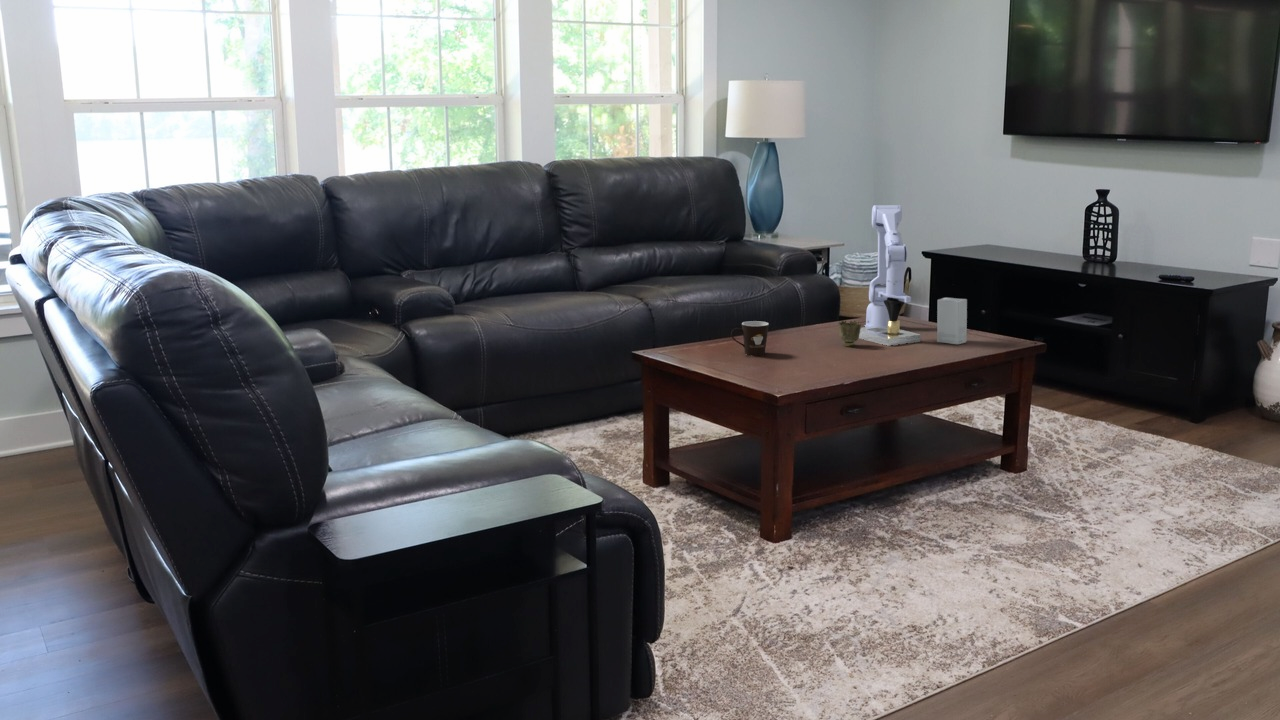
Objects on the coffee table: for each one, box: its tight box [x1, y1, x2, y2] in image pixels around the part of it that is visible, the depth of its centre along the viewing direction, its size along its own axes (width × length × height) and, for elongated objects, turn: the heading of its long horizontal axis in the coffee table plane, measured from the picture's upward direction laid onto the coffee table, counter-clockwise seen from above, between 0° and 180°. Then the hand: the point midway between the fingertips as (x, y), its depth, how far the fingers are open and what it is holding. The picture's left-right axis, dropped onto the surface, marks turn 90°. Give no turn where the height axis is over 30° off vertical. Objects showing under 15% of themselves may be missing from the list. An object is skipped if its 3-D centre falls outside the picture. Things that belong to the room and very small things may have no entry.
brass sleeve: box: [887, 319, 901, 336], centre depth 371 cm, size 4×4×7 cm
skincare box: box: [936, 297, 968, 345], centre depth 367 cm, size 8×6×15 cm
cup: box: [838, 320, 862, 348], centre depth 364 cm, size 8×7×8 cm
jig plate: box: [858, 325, 922, 347], centre depth 375 cm, size 20×14×2 cm
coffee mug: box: [730, 320, 769, 357], centre depth 353 cm, size 12×9×10 cm
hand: (893, 320), depth 370 cm, fingers closed, pressing on brass sleeve
